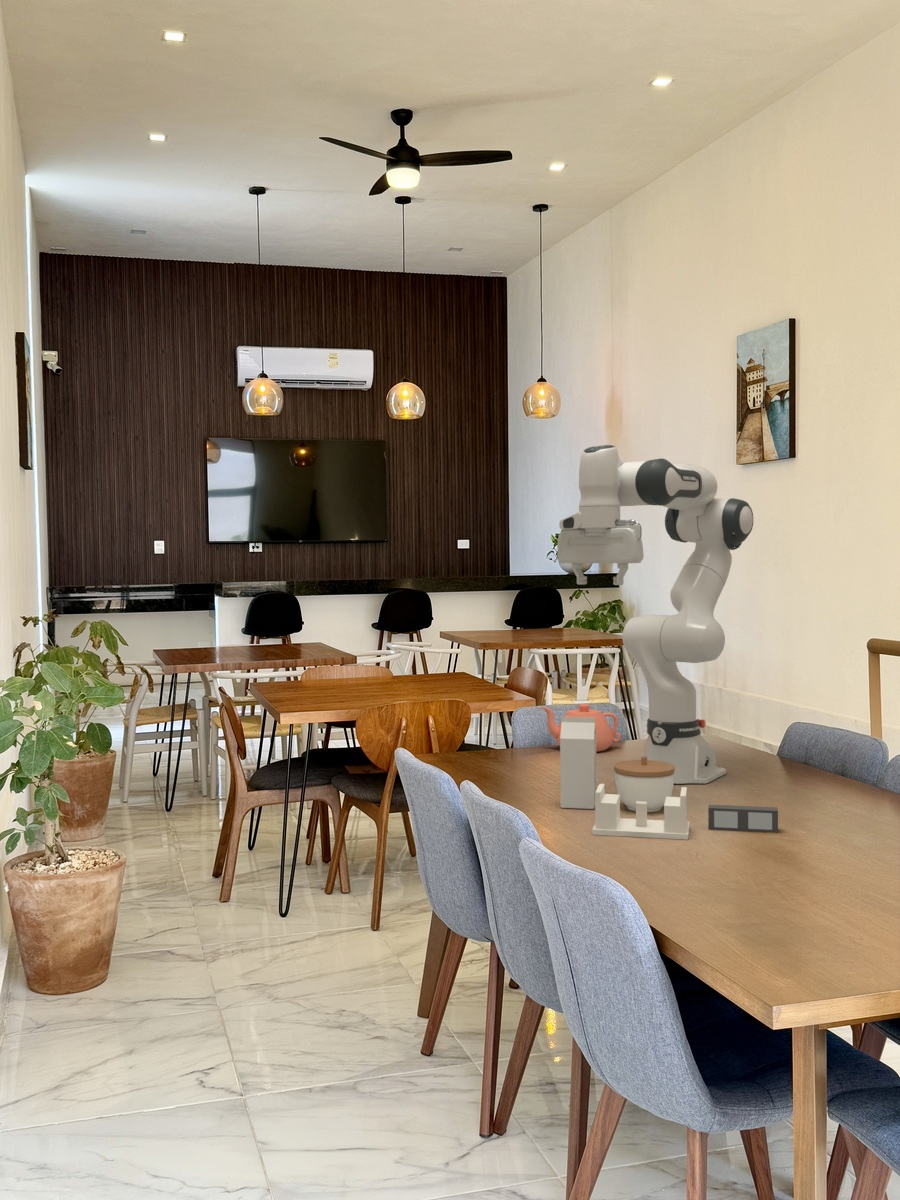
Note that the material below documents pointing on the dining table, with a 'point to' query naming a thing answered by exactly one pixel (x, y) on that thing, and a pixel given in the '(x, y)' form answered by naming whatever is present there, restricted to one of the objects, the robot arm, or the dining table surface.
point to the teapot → (602, 727)
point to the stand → (640, 818)
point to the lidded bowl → (644, 782)
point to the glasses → (742, 818)
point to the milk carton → (578, 762)
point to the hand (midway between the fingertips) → (599, 584)
